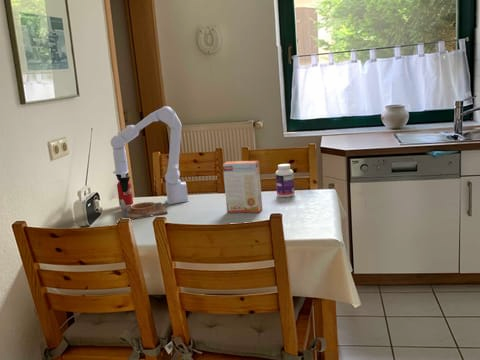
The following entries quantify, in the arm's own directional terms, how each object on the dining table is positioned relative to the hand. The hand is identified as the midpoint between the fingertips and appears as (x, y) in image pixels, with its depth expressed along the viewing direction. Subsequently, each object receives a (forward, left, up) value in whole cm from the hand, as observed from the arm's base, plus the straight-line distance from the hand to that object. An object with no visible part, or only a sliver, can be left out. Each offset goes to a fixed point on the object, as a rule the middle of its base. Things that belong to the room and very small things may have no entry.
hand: (124, 190), depth 234 cm
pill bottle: (-69, +27, -8) cm, 75 cm away
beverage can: (0, 0, -8) cm, 8 cm away
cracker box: (-45, +40, -8) cm, 61 cm away
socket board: (-6, +16, -8) cm, 19 cm away
